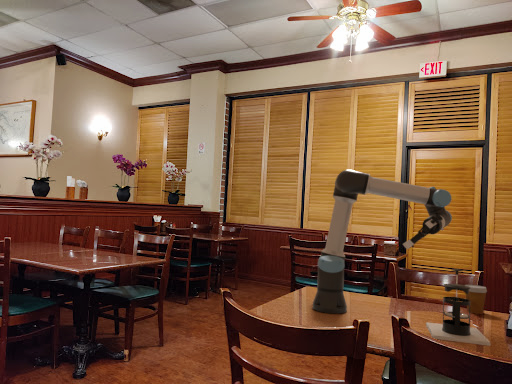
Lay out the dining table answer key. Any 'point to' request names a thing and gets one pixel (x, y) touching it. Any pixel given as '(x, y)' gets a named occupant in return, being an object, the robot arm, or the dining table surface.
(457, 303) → the french press
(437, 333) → the ceramic trivet
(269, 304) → the dining table surface
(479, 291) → the disposable coffee cup
